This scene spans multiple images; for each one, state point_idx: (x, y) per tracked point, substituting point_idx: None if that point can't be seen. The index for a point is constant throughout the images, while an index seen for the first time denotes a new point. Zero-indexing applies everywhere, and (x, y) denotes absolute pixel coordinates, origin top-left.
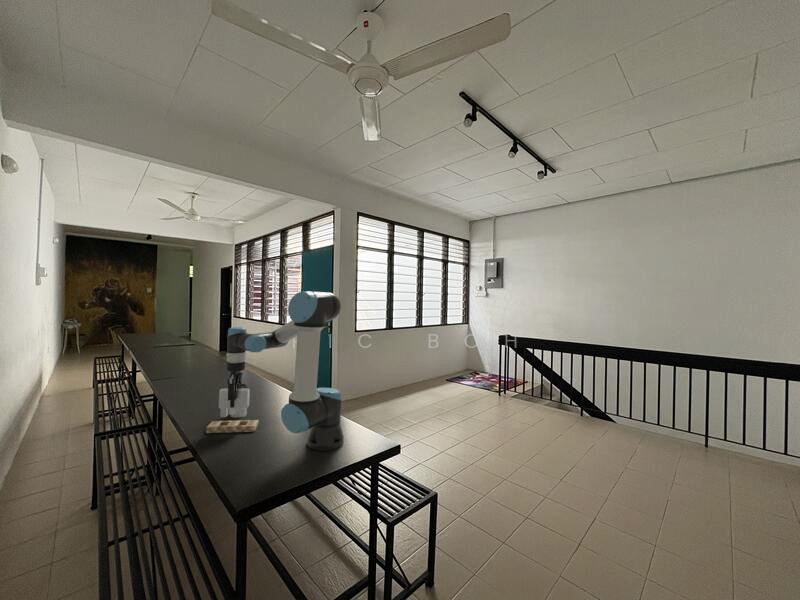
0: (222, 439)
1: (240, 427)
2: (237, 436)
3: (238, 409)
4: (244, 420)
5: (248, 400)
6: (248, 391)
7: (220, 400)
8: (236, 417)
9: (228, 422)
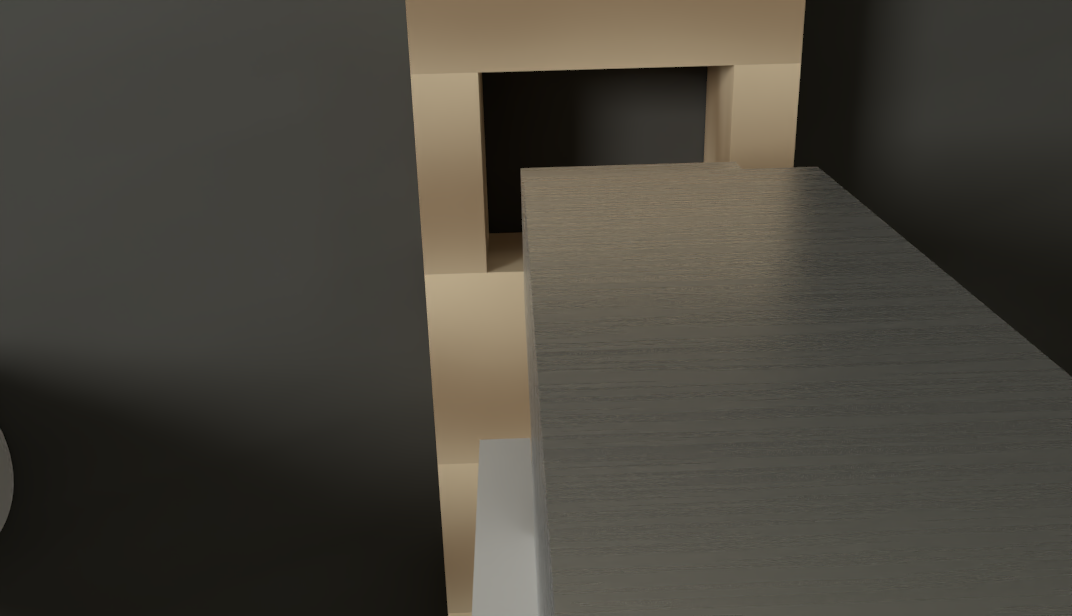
0: (1047, 348)
1: (786, 162)
2: (972, 126)
3: (510, 459)
4: (431, 190)
5: (700, 255)
6: (1039, 587)
7: None
8: (5, 448)
9: None
